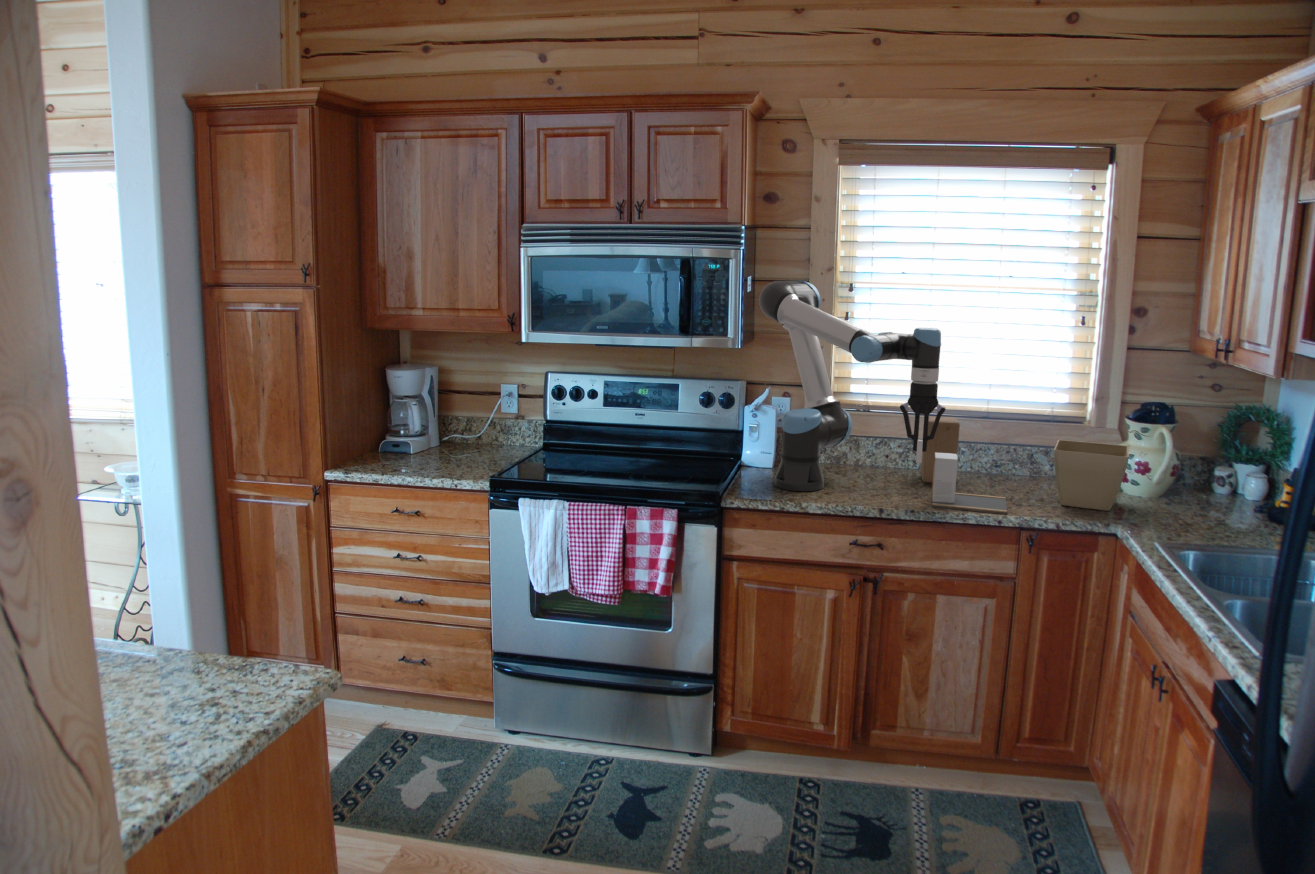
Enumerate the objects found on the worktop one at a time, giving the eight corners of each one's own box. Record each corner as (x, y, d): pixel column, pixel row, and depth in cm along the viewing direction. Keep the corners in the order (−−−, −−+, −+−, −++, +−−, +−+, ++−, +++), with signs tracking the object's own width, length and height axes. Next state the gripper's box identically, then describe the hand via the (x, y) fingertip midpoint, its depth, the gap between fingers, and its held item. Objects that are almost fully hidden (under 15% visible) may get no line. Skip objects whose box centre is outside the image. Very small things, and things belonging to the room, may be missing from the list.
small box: (931, 494, 264) (934, 452, 262) (953, 496, 263) (957, 453, 260) (931, 501, 257) (935, 457, 254) (954, 503, 255) (958, 459, 252)
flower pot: (1052, 492, 272) (1058, 438, 268) (1122, 500, 263) (1129, 444, 260) (1047, 507, 255) (1053, 449, 252) (1122, 516, 246) (1129, 457, 243)
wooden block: (955, 485, 279) (960, 422, 275) (922, 483, 281) (926, 420, 277) (951, 477, 288) (956, 417, 285) (919, 475, 290) (924, 415, 287)
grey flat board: (931, 507, 253) (932, 503, 253) (934, 493, 268) (934, 490, 268) (1007, 514, 247) (1007, 511, 247) (1005, 500, 261) (1005, 497, 261)
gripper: (899, 382, 254) (894, 463, 259) (947, 385, 250) (941, 466, 254) (902, 379, 261) (897, 457, 266) (948, 381, 257) (942, 461, 261)
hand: (918, 462), depth 260 cm, fingers closed
